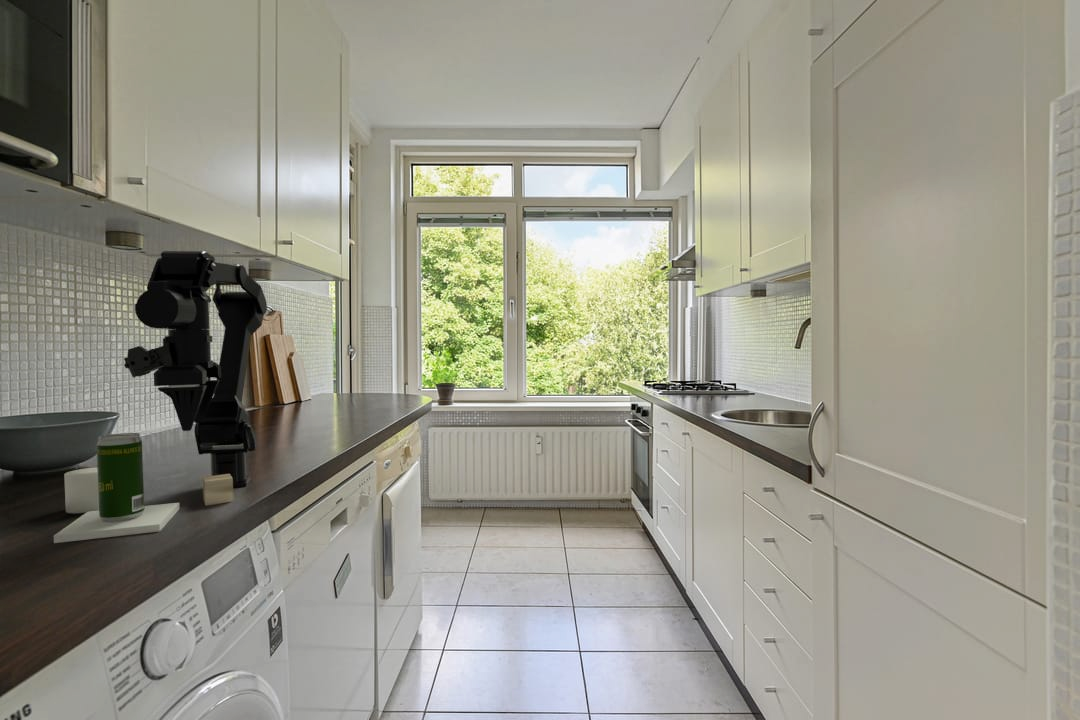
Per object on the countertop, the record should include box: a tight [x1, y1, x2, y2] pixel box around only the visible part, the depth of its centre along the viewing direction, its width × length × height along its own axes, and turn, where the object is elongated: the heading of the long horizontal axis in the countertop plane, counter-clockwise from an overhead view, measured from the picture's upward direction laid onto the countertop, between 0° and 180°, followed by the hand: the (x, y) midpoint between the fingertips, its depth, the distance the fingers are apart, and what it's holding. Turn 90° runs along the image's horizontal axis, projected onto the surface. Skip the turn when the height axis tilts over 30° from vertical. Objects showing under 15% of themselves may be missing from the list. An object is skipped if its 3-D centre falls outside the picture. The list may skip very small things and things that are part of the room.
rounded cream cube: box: [63, 467, 99, 514], centre depth 93 cm, size 6×6×6 cm
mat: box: [53, 502, 181, 544], centre depth 84 cm, size 12×12×1 cm
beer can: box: [96, 432, 145, 522], centre depth 84 cm, size 5×5×12 cm
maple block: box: [202, 474, 234, 506], centre depth 96 cm, size 4×4×4 cm
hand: (192, 426), depth 93 cm, fingers open, 9 cm apart
